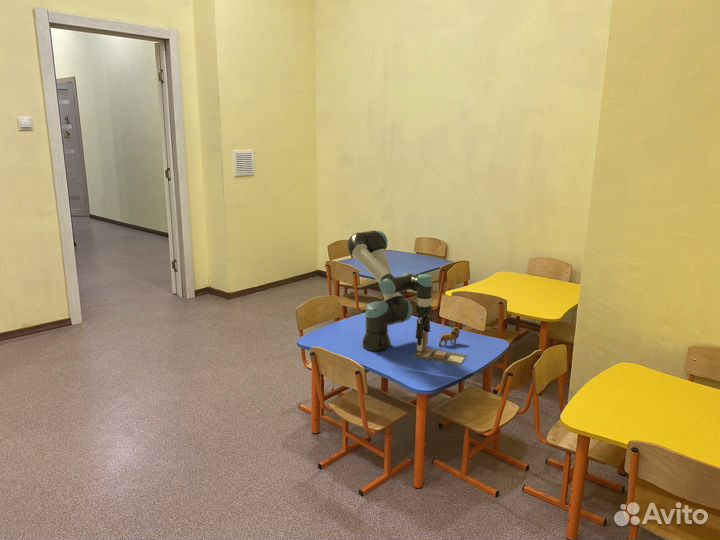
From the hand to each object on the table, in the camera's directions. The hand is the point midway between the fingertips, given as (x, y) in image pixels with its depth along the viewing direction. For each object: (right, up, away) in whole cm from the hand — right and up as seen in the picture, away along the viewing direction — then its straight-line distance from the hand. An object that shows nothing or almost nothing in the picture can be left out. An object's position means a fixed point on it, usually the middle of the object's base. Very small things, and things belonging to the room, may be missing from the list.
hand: (422, 347), depth 274 cm
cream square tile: (+9, -4, -3) cm, 10 cm away
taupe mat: (+9, -5, -3) cm, 10 cm away
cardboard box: (+1, -3, 0) cm, 4 cm away
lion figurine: (+16, -1, +13) cm, 21 cm away
